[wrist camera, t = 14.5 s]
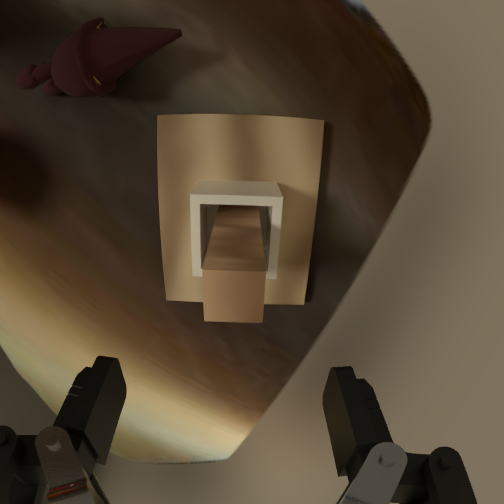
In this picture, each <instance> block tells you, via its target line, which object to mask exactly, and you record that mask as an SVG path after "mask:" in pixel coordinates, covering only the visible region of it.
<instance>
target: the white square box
mask: <svg viewBox="0 0 504 504" xmlns="http://www.w3.org/2000/svg"><path fill="white" fill-rule="evenodd" d="M219 204H222V205H254V206H258V209H259V217H260V225H261V233H262V241H263V249H264V258H265V266H266V279H276V278H277V266H278V255H279V243H280V231H281V218H282V205H283V196H282V194H281V191H280V189H279V186H278V184H277V182H259V181H231V180H199V181H198V183H197V185H196V186H195V188H194V189H193V191H192V192H191V194H190V220H191V253H192V276H196V277H202V269H203V265H204V261H205V257H206V253H207V249H208V245H209V241H210V237H211V234H212V230H213V226H214V222H215V219H216V215H217V211H218V207H219Z"/></svg>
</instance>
